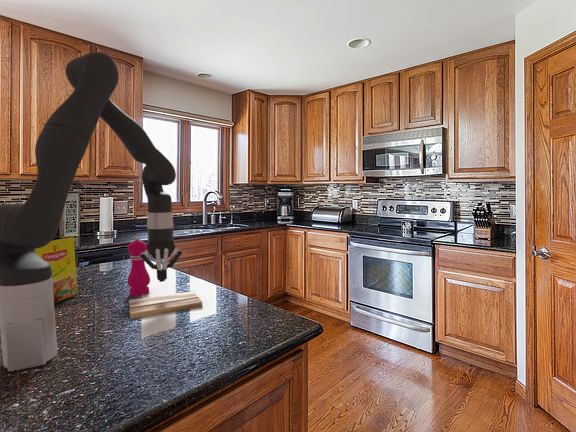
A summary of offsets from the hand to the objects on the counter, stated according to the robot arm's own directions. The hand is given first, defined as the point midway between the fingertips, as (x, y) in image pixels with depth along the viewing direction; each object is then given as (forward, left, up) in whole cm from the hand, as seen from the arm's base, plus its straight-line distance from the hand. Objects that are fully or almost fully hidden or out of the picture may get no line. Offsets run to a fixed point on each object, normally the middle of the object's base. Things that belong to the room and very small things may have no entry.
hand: (162, 281), depth 108 cm
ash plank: (-2, 0, -7) cm, 7 cm away
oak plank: (-8, 0, -7) cm, 11 cm away
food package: (+18, +30, -7) cm, 36 cm away
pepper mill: (+14, +6, -7) cm, 17 cm away
